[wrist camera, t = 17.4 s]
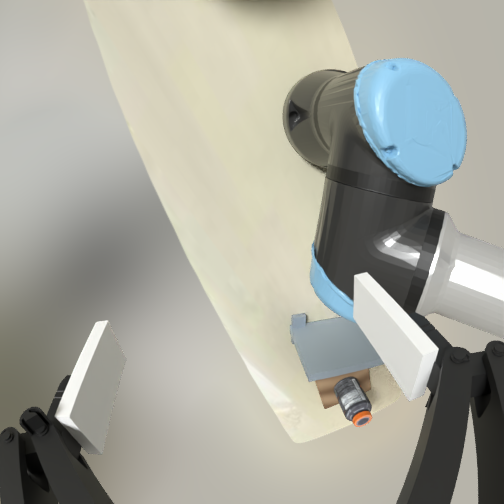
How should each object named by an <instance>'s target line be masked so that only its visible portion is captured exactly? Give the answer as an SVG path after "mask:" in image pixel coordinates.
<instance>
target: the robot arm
mask: <svg viewBox="0 0 504 504" xmlns="http://www.w3.org/2000/svg"><path fill="white" fill-rule="evenodd" d="M283 125H284V129H285V133H286V135H287V138H288V140H289V142H290V143H291V145H292V147H293V148H294V149H295V150H296V152H297V153H298V154H299V155H300V156H302V157H303V158H304V159H306V160H307V161H309V162H310V163H312V164H315V165H317V166H320V167H323V168H327V173H326V177H325V184H324V190H323V197H322V203H321V208H320V214H319V219H318V225H317V230H316V235H315V240H314V242H313V244H312V250H311V251H312V262H311V269H310V281H311V285H312V286H313V288H314V291H315V293H316V295H317V296H318V298H319V299H320V300H321V301H322V302H323V303H324V304H325V305H326V306H327V307H328V308H329V309H331V310H332V311H333V312H335V313H336V314H338V315H339V316H341V317H343V318H345V319H347V320H349V321H351V322H354V323H357V324H358V325H359V327H360V328H361V330H362V331H363V333H364V334H365V336H366V337H367V339H368V340H369V341H370V343H371V344H372V346H373V347H374V349H375V350H376V352H377V353H378V355H379V356H380V358H381V359H382V361H383V362H384V364H385V365H386V367H387V368H388V370H389V371H390V373H391V374H392V376H393V377H394V379H395V380H396V382H397V384H398V385H399V387H400V388H401V390H402V391H403V393H404V394H405V396H406V397H407V399H408V401H411V400H414V399H416V398H418V397H421V396H423V395H424V393H425V390H426V387H428V388H429V390H430V391H431V394H430V396H429V399H428V401H427V404H426V406H425V407H427V410H426V414H425V418H424V422H423V426H422V430H421V433H420V437H419V440H418V444H417V447H416V450H415V454H414V457H413V460H412V463H411V466H410V469H409V472H408V474H407V477H406V480H405V483H404V486H403V488H402V491H401V493H400V496H399V498H398V500H397V503H396V504H450V502H451V499H452V495H453V492H454V488H455V484H456V480H457V476H458V472H459V468H460V463H461V458H462V453H463V448H464V442H465V436H466V430H467V422H468V415H469V406H471V412H472V418H473V425H474V433H475V443H476V453H477V467H478V496H479V497H478V501H479V502H478V504H504V343H503V342H501V341H491V342H489V343H488V344H487V346H486V348H485V351H482V352H476V353H469V351H467V350H466V349H464V348H460V347H452V346H451V344H450V343H449V342H448V341H447V340H446V339H445V338H444V337H443V336H442V335H441V334H440V333H439V332H438V331H437V330H435V327H434V326H433V325H432V324H430V322H429V321H428V320H427V319H426V318H425V317H424V316H426V315H428V314H431V313H437V314H440V315H442V316H445V317H448V318H451V319H453V320H456V321H458V322H461V323H463V324H466V325H469V326H471V327H474V328H477V329H479V330H482V331H485V332H488V333H490V334H493V335H495V336H498V337H500V338H503V339H504V249H503V248H501V247H498V246H496V245H493V244H490V243H488V242H485V241H482V240H480V239H477V238H474V237H471V236H469V235H466V234H463V233H461V232H459V231H458V230H457V228H456V226H455V224H454V223H453V221H452V219H451V217H450V215H449V213H447V212H445V211H442V210H438V209H435V208H433V207H432V203H433V198H434V193H435V188H436V185H438V184H441V183H443V182H445V181H447V180H449V179H450V178H451V177H452V176H453V170H456V169H458V168H459V167H460V165H461V163H462V161H463V157H464V154H465V150H466V142H467V130H466V122H465V118H464V114H463V110H462V108H461V105H460V103H459V100H458V99H457V98H456V97H455V96H454V94H453V92H452V89H451V87H450V86H449V84H448V83H447V81H446V80H445V79H444V78H443V77H442V76H441V75H440V74H439V73H438V72H436V71H435V70H434V69H432V68H431V67H429V66H428V65H426V64H424V63H422V62H419V61H416V60H413V59H408V58H396V59H388V60H385V59H384V60H378V61H374V62H371V63H370V64H367V65H366V66H364V67H361V68H358V69H355V70H352V71H350V72H345V71H341V70H335V69H327V70H320V71H316V72H314V73H311V74H309V75H307V76H305V77H304V78H302V79H301V80H299V81H298V82H297V83H296V84H295V85H294V86H293V87H292V89H291V90H290V92H289V93H288V95H287V98H286V100H285V103H284V108H283ZM125 362H126V357H125V355H124V353H123V351H122V349H121V347H120V345H119V343H118V341H117V339H116V337H115V334H114V332H113V330H112V328H111V326H110V323H109V321H101V322H96V324H95V326H94V328H93V330H92V332H91V334H90V336H89V338H88V340H87V342H86V344H85V346H84V349H83V351H82V353H81V355H80V357H79V359H78V361H77V364H76V366H75V368H74V370H73V373H72V375H67V376H66V377H65V378H64V379H63V380H62V382H61V383H60V385H59V387H58V390H57V392H56V394H55V398H54V399H53V401H52V404H51V406H50V409H49V411H48V414H47V416H46V415H45V414H44V412H43V411H42V410H41V409H40V408H38V407H31V408H28V409H27V410H26V411H24V413H23V414H22V415H21V417H20V425H21V426H22V427H23V428H24V429H25V431H26V433H22V434H20V433H19V432H18V431H17V430H16V429H15V428H13V427H8V428H6V429H4V430H3V431H2V433H1V434H0V498H1V504H58V502H59V504H114V503H113V502H112V500H111V499H110V498H109V496H108V495H107V493H106V492H105V490H104V489H103V487H102V486H101V484H100V483H99V481H98V480H97V478H96V477H95V475H94V474H93V472H92V470H91V469H90V467H89V465H88V464H87V462H86V460H85V459H84V457H83V456H82V455H81V454H80V451H81V447H82V448H83V449H84V450H85V451H86V452H87V453H88V454H100V455H102V454H103V449H104V444H105V440H106V436H107V431H108V426H109V423H110V418H111V414H112V410H113V406H114V402H115V398H116V395H117V391H118V387H119V383H120V379H121V376H122V372H123V369H124V365H125Z"/></svg>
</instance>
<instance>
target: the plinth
mask: <svg viewBox="0 0 504 504" xmlns="http://www.w3.org/2000/svg"><path fill="white" fill-rule="evenodd" d="M346 377H355V378H357V380H358V382H359V383H360V385H361V387H362V389H363V390H364V392H367V391H369V390H371V387H370V378H369V370H368V369H364V370H360V371H356V372H352V373H348V374H343V375H339V376H335V377H330V378H325V379H320V380H316V381H315V382H316V385H317V388H318V391H319V394H320V397H321V400H322V403H323V406H324V408H325V409H326V408H329V407H332V406H334V405H337V404H339V402H338V400H337V397H336V395H335V393H334V387H335V385H336V384H337V383H338V382H339V381H340V380H342V379H343V378H346Z"/></svg>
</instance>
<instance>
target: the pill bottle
mask: <svg viewBox="0 0 504 504" xmlns="http://www.w3.org/2000/svg"><path fill="white" fill-rule="evenodd" d="M334 393H335V395H336V397H337V400H338V402H339V404H340V406H341V408H342V410H343V413H344V415H345V417H346V419H348V420H349V421H353V423H354V425H355V426H356V427H361V426H364V425H366V424H367V423H369V422H370V421H371V419H372V415H371V413H370V411H371V407H372V406H371V403H370V401H369V399H368V398H367V396H366V394H365V392H364V390H363V389H362V387H361V385H360V383H359V382H358V380H357V378H355V377H346V378H343V379H342V380H340V381H339V382H338V383H337V384H336V385H335V387H334Z"/></svg>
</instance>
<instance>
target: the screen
mask: <svg viewBox="0 0 504 504" xmlns="http://www.w3.org/2000/svg"><path fill="white" fill-rule="evenodd" d="M290 334H291V342H292V344H295V347H296V350H297V352H298V355H299V357H300V360H301V363H302V365H303V368H304V370H305V373H306V376H307V378H308V381H309V382H310V381H316V380H320V379H325V378H330V377H335V376H339V375H343V374H348V373H352V372H356V371H360V370H364V369H368V368H372V367H375V366H379V365H383V364H384V362H383V361H382V359H381V358H380V356H379V355H378V353H377V352H376V350H375V349H374V347H373V346H372V344H371V343H370V341H369V340H368V339H367V337H366V336H365V334H364V333H363V331H362V330H361V328H360V327H359V325H358V324H357V323H354V322H351V321H349V320H347V319H345V318H343V317H338V318H332V319H326V320H320V321H314V322H308V323H306V315H305V313H303V314H296V315H292V325H290Z"/></svg>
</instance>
